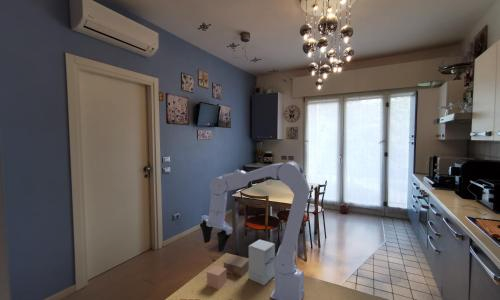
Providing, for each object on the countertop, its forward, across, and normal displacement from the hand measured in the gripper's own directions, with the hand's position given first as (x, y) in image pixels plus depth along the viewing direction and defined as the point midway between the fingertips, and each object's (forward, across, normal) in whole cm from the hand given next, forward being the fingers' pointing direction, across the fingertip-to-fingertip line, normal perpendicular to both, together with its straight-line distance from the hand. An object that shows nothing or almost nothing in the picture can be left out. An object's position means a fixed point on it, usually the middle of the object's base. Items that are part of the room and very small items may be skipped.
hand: (213, 246), depth 85 cm
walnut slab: (+13, +3, +12) cm, 17 cm away
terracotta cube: (+13, +3, 0) cm, 13 cm away
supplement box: (+11, +13, +14) cm, 22 cm away
